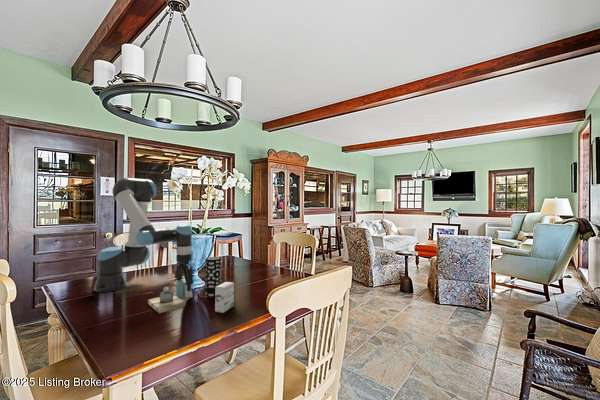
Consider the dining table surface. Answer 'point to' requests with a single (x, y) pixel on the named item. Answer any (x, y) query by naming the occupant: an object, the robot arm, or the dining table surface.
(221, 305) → the ink box
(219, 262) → the white-spotted black cylinder
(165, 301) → the knobbed metal weight
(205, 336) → the dining table surface
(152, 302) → the board
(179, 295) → the cap
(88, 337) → the dining table surface
